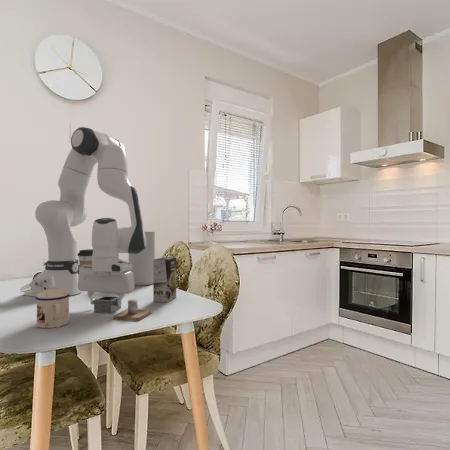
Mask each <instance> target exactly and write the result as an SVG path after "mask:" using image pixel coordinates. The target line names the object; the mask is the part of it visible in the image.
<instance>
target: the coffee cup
mask: <svg viewBox="0 0 450 450" xmlns="http://www.w3.org/2000/svg"><path fill="white" fill-rule="evenodd" d="M92 254H93V248H92V249H88V248H87V249H80V250H79V252H77V257H78V263H79V268H80V267H81V266H82V265H85V264H86V265H92ZM82 268H83V267H82Z"/></svg>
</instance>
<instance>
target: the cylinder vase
mask: <svg viewBox="0 0 450 450" xmlns="http://www.w3.org/2000/svg"><path fill="white" fill-rule="evenodd" d="M144 232H145V235H146V248H145V249H144V250H143V251H142V252H140V253H139V254H129V253H128V263H131V264H132V269H131V270H130V271H132V273H133V275H134V285H135V286H136V287H137V286H138V287H140V286H151V285H153V260H154V259H156V232H155V231H144Z"/></svg>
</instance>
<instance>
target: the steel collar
mask: <svg viewBox="0 0 450 450" xmlns="http://www.w3.org/2000/svg"><path fill="white" fill-rule="evenodd" d="M118 298H119V296H115V295H114V296H110V295H103V296H100V297H99V298H95V300H94V304H93V313H105V314H111V313H114V312H115V311H118V310H120V309H122V305H121V306H115V301H116V300H118Z"/></svg>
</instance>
